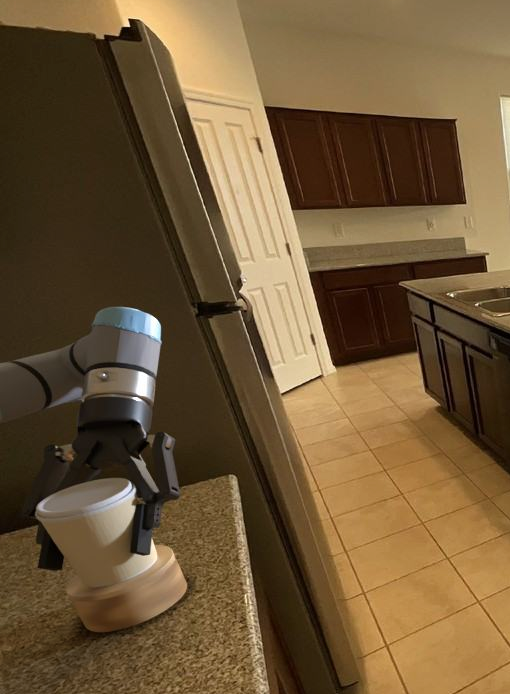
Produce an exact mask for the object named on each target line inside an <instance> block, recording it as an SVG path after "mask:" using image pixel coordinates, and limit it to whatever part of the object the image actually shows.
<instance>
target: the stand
mask: <svg viewBox="0 0 510 694" xmlns="http://www.w3.org/2000/svg"><path fill="white" fill-rule="evenodd" d="M154 546H155V549H156V552H157V560H156V562H155V563H154V564H153V565H152V566H151V567H150V568H148V569H147V570H146V571H144V572H143V573H141V574H139V575H137V576H135V577H133V578H131V579H128V580H126V581H123V582H120V583H117V584H114V585H110V586H105V587H88V586H86V585H84V584H83V582H82V581H81V580H80V578H79V577H78V576H77V574H76V573H75V574H74V575H73V576H72V577H71V578H70V579H69V580H68V581H67V583H66V585H65V588H64V590H65V593H66V595H67V597H68V599H69V600H70V602H71V604H72V605H73V607H74V609H75V611H76V612H77V614H78V616H79V618H80V620H81V623H82V624H83V626H84V627H85V628H86V630H88V631H90V632H94V633H109V632H116V631H120V630H124V629H129V628H131V627H134V626H137V625H140V624H141V623H144V622H146V621H148V620H150V619H152V618H155V617H157V616H158V615H160V614H162V613H164V612H165V611H167V610H168V609H170V608H171V607H173V606H174V605H175V604H176V603H177V602H179V601H180V599H181V598H182V597H183V596H184V595H185V593H186V591H187V589H188V582H187V581H186V578H185V575H184V574H183V572H182V569H181V567H180V565H179V562H178V560H177V557H176V555H175V553H174V551H173V549H172V548H171V547H169V546H167V545H164V544H163V545H162V544H154Z"/></svg>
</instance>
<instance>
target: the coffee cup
mask: <svg viewBox="0 0 510 694" xmlns="http://www.w3.org/2000/svg"><path fill="white" fill-rule="evenodd" d="M136 504H141V500H140V499H139V496H138V493H137V488H136V486H135V485H134V483H133V482H132V481H131V480H129V479H127V478H124V477H107V478H100V479H95V480H90V481H89V482H85V483H82V484H78V485H75V486H72V487H69V488H66V489H64V490H61V491H59V492H56V493H54V494H52V495H50V496H49V497H47V498H45V499H44V500H42V501H41V502H40V503H39V504H38V505H37V507H36V512H35V516H36V518H37V519H36V520H38V522H39V521H41V522H42V524H43V526H44V527H45V529H46V530H47V532H48V533H49V535H50V536H51V538H52V539H53V541H54V542H55V544H56V545H57V547H58V548H59V550H60V551H61V553H62V554H63V555H64V559H65V560H66V561H67V563H68V564H69V566H70V567H71V568H72V570H73V571H74V573H75V575H76V574H77V576H78V577H79V578H80V580H81V581H82V582H83V584H84V585H86V586H88V587H105V586H110V585H114V584H117V583H120V582H123V581H126V580H128V579H131V578H133V577H135V576H137V575H139V574H141V573H143V572H144V571H146V570H147V569H148V568H150V567H151V566H152V565H153V564H154V563H155V562H156V560H157V552H156V549H155V546H154V545H155V543H154V540H153V539H152V541H151V551H150V555H145V556H142V555H138V554H134V553H130V548H131V539H132V531H133V522H134V514H135V510H136Z"/></svg>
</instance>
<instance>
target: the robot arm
mask: <svg viewBox="0 0 510 694" xmlns="http://www.w3.org/2000/svg"><path fill="white" fill-rule="evenodd" d="M91 327H92V328H91V329H92V330H91V332H90V333H88V335H85V336H84V337H81V338H80V339H77V340H76V341H75V342H73V343H71V344H69V345H66V346H64V347H62V348H58V349H55V350H52V351H47V352H43V353H39V354H34V355H31V356H26V357H22V358H18V359H14V360H9V361H4V362H1V363H0V424H4V423H7V422H9V421H13V420H15V419H18V418H22V417H23V416H27V415H30V414H32V413H35V412H39V411H43V410H44V411H45V410H47V409H50V408H52V407H56V406H59V405H62V404H65V403H67V404H70V403H75V402H79V401H81V403H80V404H79V407H78V413H77V419H76V430H77V435H76V437H75V438H74V440H73V441H72V443H68V444H63V445H56V444H52V443H51V444H47V445H46V446H44V449H43V462H42V464H41V466H40V469H39V471H38V473H37V475H36V477H35V479H34V481H33V483H32V485H31V488H30V490H29V492H28V494H27V496H26V498H25V501H24V502H23V505H22V507H21V509H20V511H19V513H20V515H21V516H23V517H27V518H31V519H35V520H38V519H37V518H36V516H35V512H36V507H37V505H38V504H39V503H40V502H41V501H42V500H44V499H45V498H47V497H49V496H50V495H52V494H54V493H56V492H59V491H61V490H64V489H66V488H69V487H72V486H75V485H78V484H82V483H85V482H89V481H92V479H93V478H94V477H97V476H98V475H99V474H100V473H101V472H102V470H107V469H110V468H113V467H120V468H123V467H124V468H125V470H126V472H127V474H128V475H129V478H130V479H131V482H132V483H133V484H134V485H135V486H136V491H137V492H138V494H139V495H140V499H139V501H140V502H143V503H140V504H136V510H135V514H134V522H133V531H132V539H131V548H130V553H134V554H138V555H142V556H145V555H150V551H151V541H152V540H153V531H154V530H155V529H159V527H160V526H161V520H162V512H163V511H162V509H163V506H164V505H165V504H166V503H168V502H170V501H176V500H179V498H180V497H181V491H180V486H179V481H178V475H177V470H176V465H175V460H174V455H173V450H174V447H175V443H176V439H175V438H174V437H172V436H171V435H169V434H167V433H166V432H165V431H158V432H156V433H155V434H150V433H149V432H150V431H151V427H152V421H153V407H154V402H155V393H156V392H155V391H156V380H157V375H158V367H159V361H160V360H159V359H160V353H161V345H162V340H161V337H162V326H161V323H160V321H159V320H158V319H157V318H156V317H154V316H153V315H152V314H150V313H147V312H145V311H142V310H140V309H136V308H132V307H127V306H126V307H125V306H109V307H105V308H102V309H101V310H99V311H97V313H96V314H95V316H94V319H93V322H92V323H91ZM148 447H150V448H151V452H152V458H153V464H154V469H155V476H156V481H157V485H156V483H155V481H154V480H153V478H152V476H151V474H150V472H149V471H148V469H147V467H146V466H147V464H146V462H145V461H144V459H143V457H142V456H141V455H142V453H143V452H144V451H145V450H146V449H147V448H148ZM75 454H76V456H75V458H74V457H73V456H74V455H75ZM86 465H88V466H86ZM69 468H70V469H69ZM67 471H68V472H67ZM35 543H36V544H37V545H41V546H40V552H39V558H38V563H37V569H41V570H46V571H52V572H56V571H62V570H63V565H64V560H65V557H64V555H63V554H62V553H61V551H60V550H59V548H58V547H57V545H56V544H55V542H54V541H53V539H52V538H51V536H50V535H49V533H48V532H47V530H46V529H45V527H44V526H43V524H42V522H41V521H39V520H38V525H37V531H36V536H35Z"/></svg>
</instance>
